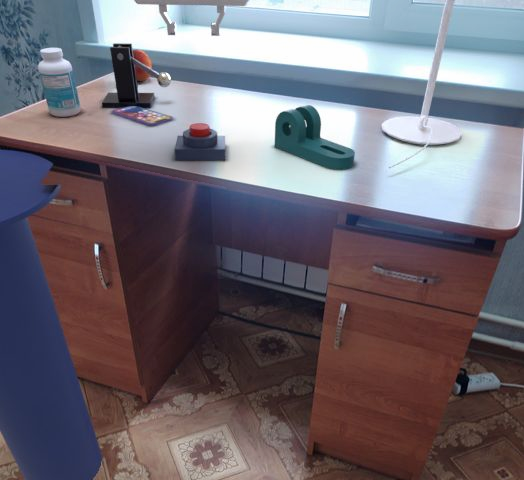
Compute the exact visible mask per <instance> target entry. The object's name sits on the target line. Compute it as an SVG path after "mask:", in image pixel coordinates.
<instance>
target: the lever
mask: <svg viewBox="0 0 524 480" xmlns="http://www.w3.org/2000/svg"><path fill="white" fill-rule="evenodd" d="M118 47H122V46H120V45H119V46H118ZM131 63H132V64H134V65H136V66H137V67H139V68H141V69H142V70H144V71H146V72H147V73H149V74H150V76H152V77H154V78H155V79H156V81H157V84H158V85H159V86H160V87H162V88H168V87H169V86H170V85H171V83H172V79H171V75H170V74H169V73H167V72H165V71H161V72H157V71H155V70H154V69H153V68H152V69H151V68H149V67H147V66H146V65H144V64H142V63H141V62H139V61H138V60H136V59H134V58H133V57H131Z"/></svg>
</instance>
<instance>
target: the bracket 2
mask: <svg viewBox="0 0 524 480" xmlns="http://www.w3.org/2000/svg"><path fill="white" fill-rule="evenodd" d="M321 128H322V118H321V116H320V114H319V112H318V110H317V109H316V108H315V107H314V106H313V105H310V104H305V105H301V106H298V107H295V108H290V109H286V110H284V111H283V110H282V111H281V112H280V113H278V114H277V116H276V119H275V123H274V148H276V149H279V150H282V151H284V152H287V153H289V154H292V155H294V156H296V157H299V158H302V159H304V160H306V161H309V162H311V163H314V164H316V165H319V166H321V167H324V168H326V169H331V170H338V171H339V170H341V171H342V170H348V169H350V168H352V167H353V166H354V161H355V157H356V156H355V155H356V152H355V150H353V149H352V148H350V147H348V146H345V145H342V144H339V143H337V142H334V141H331V140H328V139H325V138H323V137H321V130H322V129H321Z"/></svg>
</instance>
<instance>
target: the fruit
mask: <svg viewBox="0 0 524 480" xmlns="http://www.w3.org/2000/svg"><path fill="white" fill-rule="evenodd" d="M132 50H133V57H134V59H136V60H138V61H139V62H141V63H142V64H144V65H146V66H147V67H149V68H151V69H152V70H153V68H152V67H153V64H152V60H151V59H150V56H149V55H148V54H147V53H146V52H145V51H142V50H141V49H132ZM135 72H136V80H137V82H145V81H147V80H149V78H150V77H151V75H150V74H149V73H147V72H146V71H144V70H142V69H141V68H139V67H137V66H136V65H135Z"/></svg>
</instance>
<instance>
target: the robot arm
mask: <svg viewBox="0 0 524 480" xmlns="http://www.w3.org/2000/svg"><path fill="white" fill-rule="evenodd" d="M133 1H134V2H135V3H136V5H151V6H152V5H155V6H156V5H158V13H159V14H160V16H161V18H162V20H163V21H164V23H165V24H166V29H167V36H177V33H178V31H177V22H175V21H172V20H171V19H170V17H169V15H168V14H167V13H168V12H169V6H210V7H212V6H213V7H214V6H216V13H217V14H218V17H217V18H216V21H215V22H211V23H210V30H211V32H210V35H211V37H214V36H215V37H220V34H221V33H220V32H221V31H220V26H221V23H222V21H223V19H224V17H225V14H226V7H246V6H247V5H248V4H249V2H250V0H133Z"/></svg>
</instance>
